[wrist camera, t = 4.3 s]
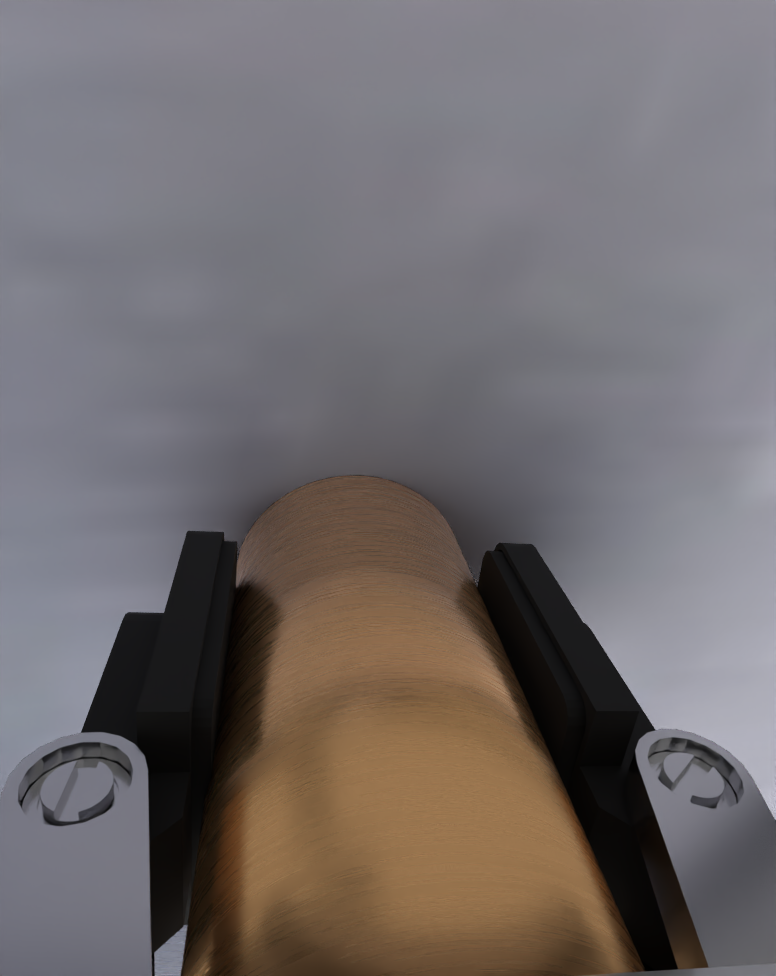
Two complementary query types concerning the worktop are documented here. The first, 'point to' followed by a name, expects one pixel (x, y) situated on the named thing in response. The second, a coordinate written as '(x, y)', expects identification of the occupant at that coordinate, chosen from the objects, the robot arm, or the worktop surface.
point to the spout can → (383, 767)
